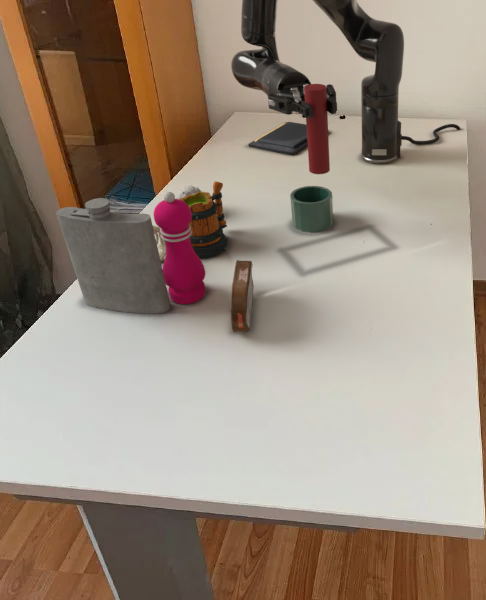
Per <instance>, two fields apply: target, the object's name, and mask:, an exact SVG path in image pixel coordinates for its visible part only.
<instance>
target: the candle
mask: <svg viewBox="0 0 486 600" xmlns="http://www.w3.org/2000/svg"><path fill="white" fill-rule="evenodd" d="M304 94H305V102H307V103H308V104H310V105H311V106H312V108H313V118H307V117H306V116H305V124H306V126H307V143H308V146H307V157H308V170H309V173H310V174H313V175H325V174H327V173H329V172H330V171H331V167H330V166H331V165H330V141H329V132H328V130H329V119H328V118H329V117H328V111H327V91H326V85H325V84H322V83H311V84H309V85H306V86H305V87H304Z"/></svg>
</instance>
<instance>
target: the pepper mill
mask: <svg viewBox="0 0 486 600" xmlns="http://www.w3.org/2000/svg"><path fill="white" fill-rule="evenodd" d="M191 219H192V213H191V210H190V208H189V206H188V205H187V204H186V203H185V202H184V201H182V200H179V199H177V198H176V196H175V194H174V193H173V192H172V191H166V192H165V193H164V194H163V199H162V201H159V202H158V203H157V205H155V207H154V210H153V220H154V223H155V226H156V227H159V228H160V233H161V238H162V239H163V240H165V244H166V256H165V257H164V261H163V265H162V270H163V274H164V279H165V283H166V287H168V288H167V291H168V296H169V299H170V300H171V301H172V302H173V303H176V304H179V305H189V304H193V303H196V302H199V301H200V300H202V299H203V298H204V297H205V296H206V293H207V289H206V284H205V282H204V280H205V278H206V269H205V265H204V264H203V261H202V259H200V258H199V257H198V256H197V254H196V253H195V251H194V250H193V247H192V245H191V242H190V236H191V234H192V231H191V226H190V225H189V223H190V221H191Z"/></svg>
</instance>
